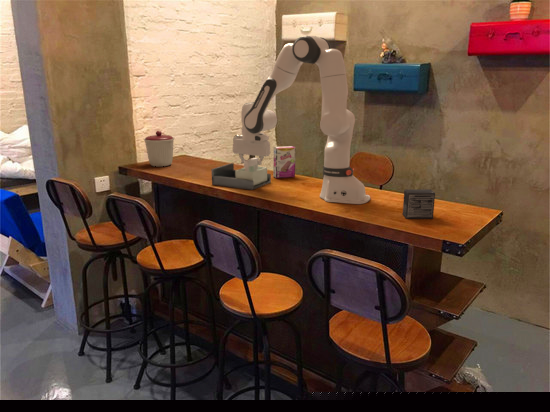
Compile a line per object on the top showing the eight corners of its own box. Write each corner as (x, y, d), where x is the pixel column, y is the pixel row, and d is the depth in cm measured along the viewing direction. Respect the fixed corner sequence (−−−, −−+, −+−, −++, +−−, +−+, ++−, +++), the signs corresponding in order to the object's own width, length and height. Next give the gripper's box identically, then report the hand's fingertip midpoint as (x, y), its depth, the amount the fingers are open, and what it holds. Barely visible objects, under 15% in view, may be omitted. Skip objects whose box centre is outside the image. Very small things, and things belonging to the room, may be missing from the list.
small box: (428, 214, 180) (431, 188, 177) (433, 219, 173) (436, 192, 170) (401, 214, 180) (403, 188, 177) (405, 219, 174) (408, 192, 171)
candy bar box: (276, 178, 241) (276, 148, 237) (273, 176, 246) (272, 146, 241) (295, 177, 245) (295, 147, 240) (292, 175, 250) (292, 145, 245)
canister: (139, 166, 273) (136, 131, 267) (158, 161, 289) (155, 128, 283) (164, 169, 266) (161, 133, 261) (182, 163, 282) (179, 129, 276)
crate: (267, 180, 231) (267, 158, 228) (252, 186, 220) (252, 162, 216) (250, 178, 236) (250, 156, 233) (235, 184, 224) (235, 160, 221)
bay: (270, 182, 233) (270, 167, 231) (252, 190, 218) (252, 173, 216) (232, 177, 244) (231, 163, 242) (212, 184, 229) (211, 169, 227)
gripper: (229, 135, 223) (230, 163, 227) (265, 137, 214) (265, 166, 218) (236, 134, 229) (237, 161, 233) (271, 136, 219) (272, 164, 223)
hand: (251, 163), depth 225 cm, fingers open, 8 cm apart
